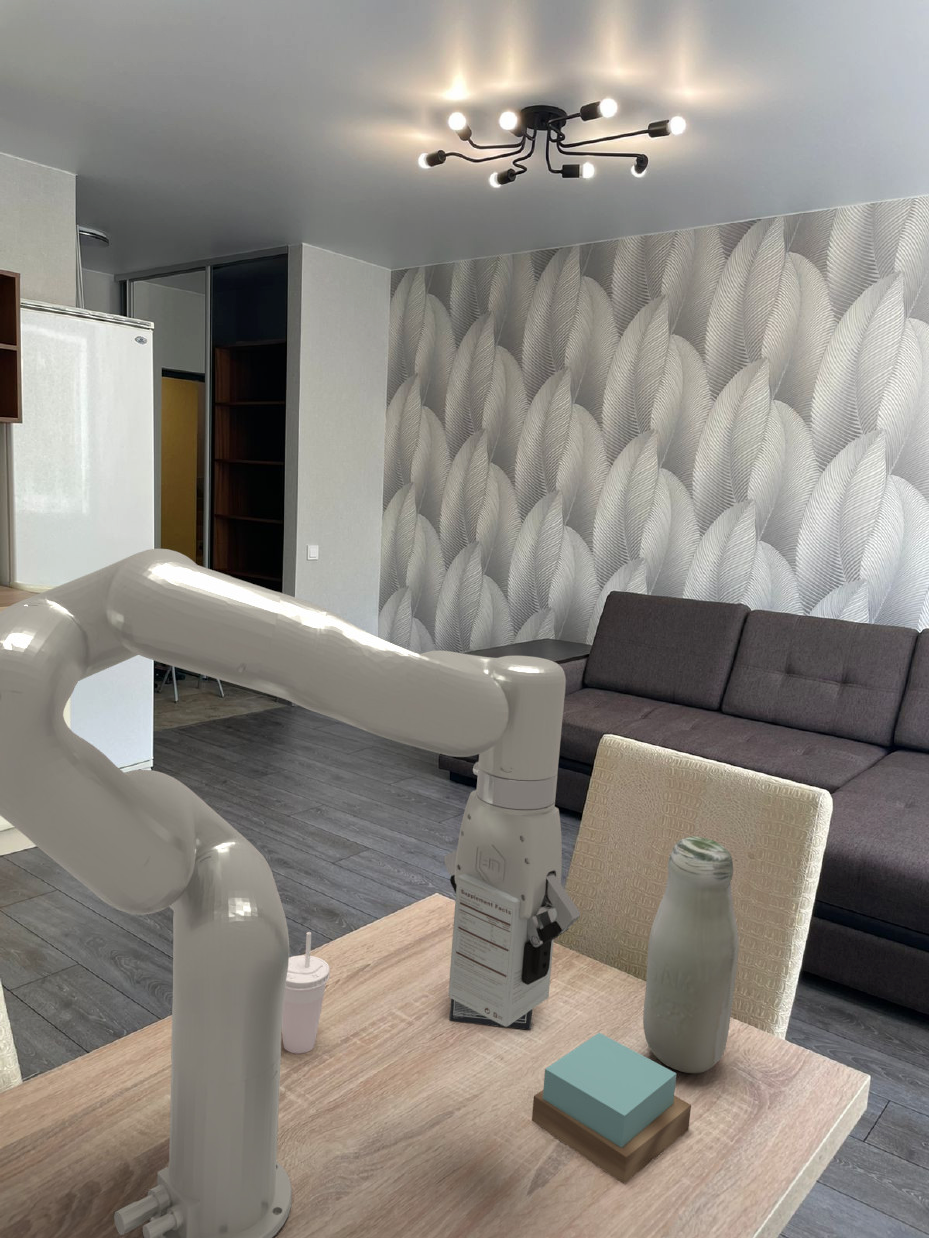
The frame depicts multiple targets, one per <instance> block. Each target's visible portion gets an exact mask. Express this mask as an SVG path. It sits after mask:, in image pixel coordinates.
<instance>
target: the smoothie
mask: <svg viewBox="0 0 929 1238" xmlns="http://www.w3.org/2000/svg"><path fill="white" fill-rule="evenodd" d="M305 935H306V938H305V955H304V954H302V955H293V956H289V963H288V971H287V978H286V985H285V992H284V1000H283V1012H282V1031H281V1035H282V1041H283V1048H284V1049H285V1051H287V1052H289V1053H292V1054H305V1053H308V1052H310V1051H311V1050H313V1049H314V1047H315V1046H316V1040H317V1033H318V1029H319V1023H320V1018H321V1012H322V1007H323V1006H322V1005H323V1001H324V996H325V989H326V986H327V985H326V984H327V983H328V981H329V979H330V976H331V974H330V966H329V964H328V962H326V961H325V960H324V959H323V958H320V957H317V956H313V955H311V946H312V932H310V931H308V932H306V934H305Z"/></svg>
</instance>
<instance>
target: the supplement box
mask: <svg viewBox="0 0 929 1238" xmlns="http://www.w3.org/2000/svg"><path fill="white" fill-rule="evenodd" d="M547 899H548V898H547ZM454 902H455V903H454V916H453V928H452V929H453V930H452V940H451V941H452V942H451V953H450V954H451V955H450V956H451V957H450V967H449V969H450V971H449V979H448V980H449V981H448V983H449V985H448V997H449V998H450V1000H451V999H453V1000H455V1001H457V1002H459V1003H461V1004H463V1005H464V1006H466V1007H468V1008H470V1009H472V1010H474V1011H476V1012H478V1013H479V1014H481V1015H483V1016H485V1017H487V1018H489V1019H491V1020H493V1021H495V1022H497V1023H499V1024H501V1025H503V1026H505V1027H504V1028H508V1027H507V1026H509V1025H510V1024H512V1023H513V1022H514V1021H516V1020H517V1019H519V1018H520V1017H522V1016H523V1015H525V1014H526V1013H527V1012H529V1011H530V1010H532V1011H533V1009H535V1008H536V1007H538V1006H539V1005H540V1004H542V1003H543V1002H545V1001H546V1000H548V999H549V997H550V986H551V975H552V963H553V962H552V961H553V952H554V940H555V939H553V940H552V943H551V954H550V965H549V970H548V973H547V975H546V976H545V977H543V978H541V979H539V980H537V981H535V982H533V983H531V984H529V985H527V984H525V983H523V982H522V968H523V957H524V946H525V943H527V942H529V941H530V939H529V935H528V932H527V920H521V919H520V918H519V908H520V900H519V899H517V898H515V897H513V896H511V895H509V894H507V893H505V892H503V891H501V890H499V889H497V888H495V887H493V886H492V885H489V884H488V883H485V882H482V881H480V880H478V879H476V878H474V877H472V876H470V875H468V874H465V873H464V874H462V875H460V876H458V877H457V887H456V893H455V901H454ZM541 906H542V904H541ZM551 911H552V914H553V917H554V920H555V918H556V917H557V911H556V909H555V908H552V909H551ZM540 916H541V914H539V915H537V916H536V918H537V921H538V924H539V927H540V929H542V928H543V925H542V922H541V919H540Z"/></svg>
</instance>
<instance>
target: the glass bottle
mask: <svg viewBox="0 0 929 1238" xmlns="http://www.w3.org/2000/svg"><path fill="white" fill-rule="evenodd" d="M667 872H668V873H667V881H666V886H665V889H664V890H665V891H664V894H663V896H662V898H661V901H660V903H659V906H658V909H657V911H656V914H655V917H654V919H653V922H652V925H651V929H650V934H649V939H648V946H647V947H648V948H647V960H646V961H647V962H646V963H647V964H646V965H647V966H646V981H645V993H644V1001H643V1002H644V1003H643V1016H642V1022H643V1023H642V1024H643V1032H644V1036H645V1040H646V1044H647V1045H648V1047H649V1049H650V1051H651V1052H652V1053H653V1054H654V1056H655V1057H656V1059H658V1060H659V1061H660V1062H662V1063H663V1064H664V1065H666V1066H667V1067H669V1068H671V1069H673V1070H675V1071H678V1072H682V1073H685V1074H686V1073H687V1074H701V1073H703V1072H706V1071H708V1070H709V1069H711V1068H713V1067H714V1066H715V1064H717V1063H718V1062H719V1061H720V1060H721V1059H722V1057H723V1055H724V1052H725V1049H726V1046H727V1042H728V1037H729V1031H730V1023H731V1016H732V1009H733V1008H732V1007H733V1000H734V992H735V985H736V977H737V970H738V969H737V968H738V961H739V960H738V959H739V952H740V949H739V948H740V940H739V932H738V924H737V923H738V922H737V918H736V915H735V909H734V903H733V902H734V900H733V892H732V883H731V881H732V879H733V875H734V864H733V857H732V855H731V853H730V851H729V850H728V849H727V848H725V847H724V845H722V844H720V843H718V842H716V841H714V840H713V839H710V838H705V837H701V836H687V837H685V838H682V839H680V840H678V841H677V842H676V843H675V845H674V846H673V848H672V850H671V853H670V855H669V858H668V862H667Z"/></svg>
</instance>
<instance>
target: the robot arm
mask: <svg viewBox="0 0 929 1238" xmlns="http://www.w3.org/2000/svg"><path fill="white" fill-rule="evenodd" d="M136 656H140V657H143V658H146V659H149V660H152V661H155V662H157V663H160V664H161V663H162V664H165V665H167V666H171V667H175V668H178V669H182V670H185V671H189V672H191V673H196V674H200V675H203V676H206V677H210V678H213V679H217V680H220V681H224V682H228V683H230V684H234V685H238V686H241V687H243V688H244V687H245V688H248V689H251V690H254V691H256V692H261V693H264V694H268V695H271V696H275V697H277V698H281V699H284V700H286V701H289V702H291V703H293V704H295V705H298V706H300V707H302V708H305V709H307V710H308V711H311V712H315V713H318V714H321V715H324V716H326V717H329V718H332V719H335V720H336V721H340V722H342V723H345V724H348V725H351V726H352V727H355V728H357V729H360V730H363V731H365V732H368V733H370V734H374V735H376V736H379V737H381V738H385V739H388V740H392V741H394V742H397V743H401V744H405V745H407V746H412V747H415V748H419V749H422V750H424V751H426V750H427V751H429V752H433V753H437V754H441V755H444V756H448V757H456V758H464V757H465V758H466V757H467V758H468V757H473V756H477V755H478V761H476V762H475V763H474V765H473V768H472V772H473V774H474V775H476V776H477V782H476V789H475V790H472V791H471V792H470V793H469V796H468V799H467V802H466V805H465V808H464V810H463V811H464V813H463V815H462V819H461V825H460V830H459V836H458V842H457V849H455V850H454V851H451V852H449V853H448V854H446V855H445V856H444V857H443V861H444V864H445V866H446V869H447V872H448V875H449V876H450V878H449V882H450V886H451V887H452V889H453V891H454V893H455V894H456V887H457V877H458V876H460V875H462V874H464V873H465V874H468V875H470V876H472V877H474V878H476V879H478V880H480V881H482V882H485V883H488V884H489V885H492V886H493V887H495V888H497V889H499V890H501V891H503V892H505V893H507V894H509V895H511V896H513V897H515V898H517V899H519V900H520V908H519V918H520V919H521V920H527V932H528V935H529V939H530V941H529V942H527V943H525V946H524V957H523V968H522V982H523V983H525V984H527V985H529V984H531V983H533V982H535V981H537V980H539V979H541V978H543V977H545V976H546V975H547V973H548V970H549V965H550V954H551V943H552V940H553V939H554V940H555V939H557V938H558V937H559V936H561V935H562V934H564V933H565V932H567V931H568V930H569V929H570V927H572V925H573V924H574V923H575V922H576V921H578V920H579V919H580V917H581V912H580V909H579V908H578V907H577V905H576V904H575V903H574V901H573V900H572V898H571V897H570V895H569V894H568V892H567V891H566V889H565V888H564V887H563V885H562V884H561V882H562V867H563V865H562V864H563V861H562V860H563V859H562V858H563V857H562V855H563V854H562V853H563V848H562V847H563V845H562V844H563V843H562V841H563V839H562V828H561V817H560V810H559V808H558V807H556V806H555V805H556V794H557V785H558V784H557V783H558V770H559V762H560V761H559V759H560V751H561V750H560V748H561V740H562V739H561V738H562V729H563V727H562V726H563V717H564V707H565V696H566V683H567V682H566V681H567V679H566V674H565V671H564V668H563V667H562V666H561V665H560V664H558V663H557V662H555V661H552V660H551V659H547V658H544V657H543V658H542V657H538V656H528V655H505V656H499V657H489V656H488V657H487V656H481V655H475V654H468V653H462V652H461V653H460V652H455V651H449V650H430V651H426V652H422V653H418V652H415V651H413V650H410V649H407V648H404V647H402V646H400V645H397V644H394V643H391V642H389V641H387V640H385V639H383V638H380V637H378V636H375V635H374V634H372V633H370V632H368V631H365V630H364V629H362V628H360V627H358V626H357V625H355V624H353V623H352V622H350V621H348V620H347V619H345V618H344V617H342V616H340V615H339V614H337V613H335V612H333V611H331V610H330V609H327V608H324V607H322V606H320V605H318V604H316V603H313V602H310V601H309V600H308V601H307V600H304V599H301V598H299V597H298V598H297V597H295V596H292V595H290V594H286V593H282V592H280V591H275V590H272V589H269V588H266V587H263V586H260V585H257V584H253V583H251V582H248V581H245V580H242V579H239V578H236V577H233V576H231V575H229V574H225V573H223V572H219V571H216V570H214V569H213V570H212V569H210V568H207V567H204V566H201V565H198V564H197V563H196V562H195V561H193V559H191V558H190V557H188V556H187V555H185V554H183V553H181V552H178V551H176V550H171V549H168V548H167V549H166V548H151V549H150V548H149V549H146V550H142V551H140V552H137V553H133V554H131V555H129V556H127V557H125V558H123V559H121V560H118V561H115V562H114V563H112V564H109V565H108V566H104V567H102V568H99V569H97V570H95V571H93V572H90V573H88V574H85V575H83V576H80V577H77V578H75V579H73V580H70V581H68V582H65V583H62V584H61V585H58V586H55V587H53V588H51V589H48V590H45V591H43V592H40V593H37V594H35V595H32V596H30V597H28V598H25V599H23V600H20V601H18V602H16V603H13V604H12V605H10V606H7V607H5V608H4V609H2V610H1V611H0V817H2V818H3V819H4V820H5V821H6V822H8V823H9V824H11V825H12V826H13V827H14V828H15V829H16V830H18V831H19V832H20V833H21V834H22V835H23V836H25V837H26V838H27V839H28V840H29V841H31V843H32V844H34V845H35V846H36V847H37V848H38V849H39V850H40V851H42V852H43V853H44V854H45V855H47V856H48V857H49V858H51V859H52V860H53V861H54V862H55V863H56V864H58V865H59V866H60V867H62V869H64V870H65V871H67V872H68V873H69V874H70V875H71V876H73V877H74V878H75V879H76V880H77V881H79V882H80V883H81V884H82V885H84V887H86V888H87V889H88V890H89V891H91V892H92V893H93V894H94V895H95V896H96V897H98V898H99V899H100V900H102V902H104V903H105V904H108V905H109V906H111V907H112V908H114V909H116V910H118V911H120V912H124V913H128V914H129V915H151V914H154V913H155V914H156V913H158V912H160V911H163V910H165V909H167V908H170V909H171V910H172V911H173V917H172V919H173V920H172V922H173V923H172V928H173V931H172V933H173V946H172V947H173V949H172V952H173V953H172V954H173V955H172V982H173V983H172V1010H171V1011H172V1012H171V1039H170V1040H171V1043H170V1045H171V1050H170V1051H171V1052H170V1059H171V1060H170V1061H171V1064H170V1065H171V1069H170V1070H171V1071H170V1101H169V1103H170V1108H169V1109H170V1111H169V1112H170V1113H169V1143H168V1144H169V1146H168V1147H169V1151H168V1152H169V1153H168V1166H167V1167H164V1168H162V1169H160V1170H158V1171H157V1179H156V1180H157V1181H156V1182H157V1185H156V1186H155V1187H152V1188H151V1189H149V1190H148V1191H147V1196H146V1197H144V1198H142V1199H140V1200H138V1201H133V1202H131V1203H130V1204H127V1205H126V1206H124V1207H122V1208H120V1209H118V1210H116V1211H115V1213H114V1215H113V1216H114V1217H113V1218H114V1226H115V1228H116V1231H117V1232H118V1234H119V1235H121V1236H124V1235H125V1234H127V1233H130V1232H131V1231H133V1230H135V1229H137V1228H138V1227H140V1226H142V1225H143V1224H144V1222H147V1221H149V1222H147V1223H146V1224H144V1225H143V1226H142V1233H143V1238H273V1237H275V1236H276V1235H277V1233H278V1232H279V1231H280V1230H281V1228H282V1227H283V1226H284V1224H285V1223H286V1220H288V1217H289V1215H290V1210H291V1207H292V1199H293V1198H292V1197H293V1189H292V1181H291V1179H290V1177H289V1175H288V1173H287V1171H286V1170H285V1169H284V1167H283V1166H282V1165H281V1164H280V1163H279V1162H278V1161H277V1153H278V1130H279V1129H278V1128H279V1127H278V1126H279V1124H278V1123H279V1107H280V1106H279V1104H280V1085H281V1083H280V1080H281V1061H282V1059H281V1058H282V1055H281V1054H282V1046H281V1045H282V1012H283V1000H284V992H285V985H286V978H287V971H288V963H289V958H290V938H289V928H288V923H287V919H286V914H285V911H284V910H285V909H284V907H283V904H282V899H281V896H280V894H279V892H278V887H277V885H276V884H277V883H276V880H275V877H274V874H273V871H272V869H271V867H270V864H269V863H268V861H267V860H266V857H264V855H263V854H262V853H261V852H260V851H259V850H258V849H257V848H256V847H255V846H254V844H253V843H251V841H250V840H248V839H247V838H246V837H245V836H244V835H242V833H240V832H239V831H238V830H237V829H236V828H234V827H233V826H232V825H231V824H230V823H229V822H227V820H225V818H223V817H222V816H221V815H220V814H218V813H217V812H216V811H215V810H214V809H213V808H212V807H211V806H209V804H207V803H206V802H205V801H204V800H203V799H202V798H201V797H199V795H197V794H196V793H195V792H194V791H193V790H192V789H190V788H189V786H186V784H184V783H183V782H181V781H180V780H179V779H176V778H175V777H173V776H170V775H169V774H166V773H164V772H160V771H157V770H152V769H134V770H129V771H126V772H124V771H123V770H121V768H119V767H118V766H117V765H116V764H115V763H114V762H112V760H111V759H110V758H109V757H108V756H107V755H106V754H104V753H103V752H102V751H101V750H100V749H98V748H97V747H95V746H94V744H91V743H90V742H88V741H87V740H86V739H84V738H83V737H81V736H80V735H78V734H76V733H75V732H74V731H72V729H71V728H70V727H69V726H68V724H67V723H66V721H65V718H64V717H65V716H64V711H65V708H66V706H67V703H68V701H69V699H70V698H71V696H72V694H73V692H74V690H75V688H76V686H77V685H78V683H79V682H80V681H82V680H83V679H87V678H88V677H90V676H93V675H95V674H98V673H100V672H103V671H104V670H107V669H109V668H111V667H114V666H116V665H118V664H121V663H123V662H126V661H128V660H130V659H132V658H134V657H136ZM547 898H548V899H547ZM541 904H542V906H541ZM552 908H555V909H556V918H555V920H554V917H553V914H552V911H551V909H552ZM539 914H541V916H540V919H541V922H542V925H543V928H542V929H540V927H539V924H538V921H537V918H536V916H537V915H539Z"/></svg>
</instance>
